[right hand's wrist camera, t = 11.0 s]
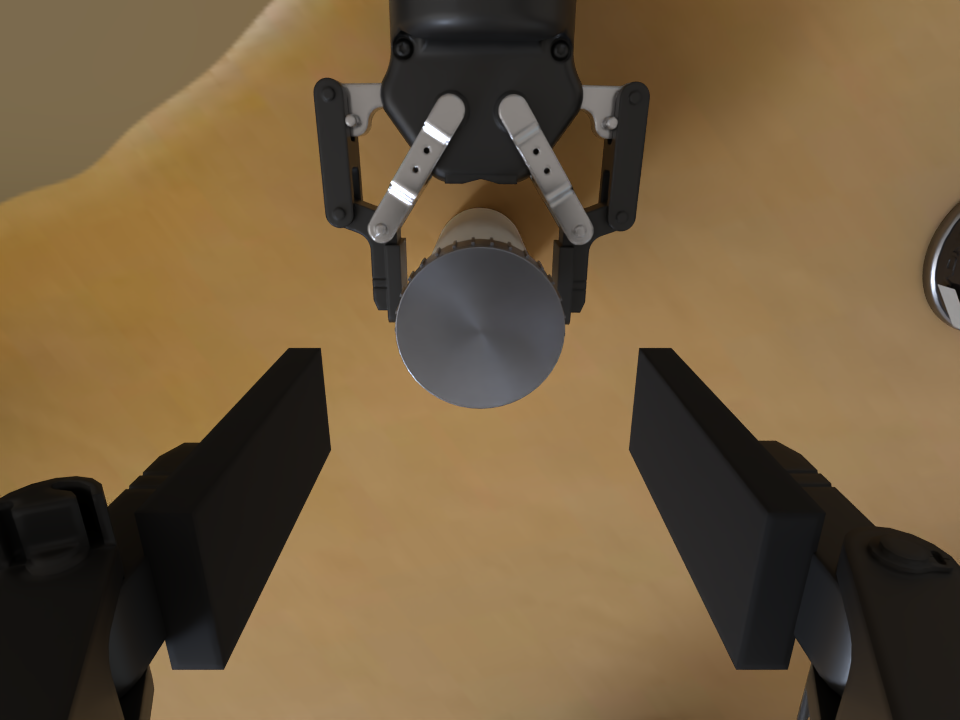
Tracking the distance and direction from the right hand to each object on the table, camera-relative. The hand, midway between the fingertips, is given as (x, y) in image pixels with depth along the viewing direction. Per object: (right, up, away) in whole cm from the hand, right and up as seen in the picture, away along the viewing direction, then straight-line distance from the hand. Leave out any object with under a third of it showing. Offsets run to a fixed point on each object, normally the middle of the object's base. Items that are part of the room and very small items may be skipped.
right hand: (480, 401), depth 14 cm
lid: (0, +2, +5) cm, 6 cm away
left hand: (0, +3, +14) cm, 14 cm away
